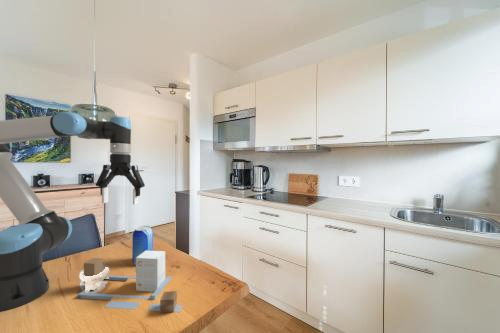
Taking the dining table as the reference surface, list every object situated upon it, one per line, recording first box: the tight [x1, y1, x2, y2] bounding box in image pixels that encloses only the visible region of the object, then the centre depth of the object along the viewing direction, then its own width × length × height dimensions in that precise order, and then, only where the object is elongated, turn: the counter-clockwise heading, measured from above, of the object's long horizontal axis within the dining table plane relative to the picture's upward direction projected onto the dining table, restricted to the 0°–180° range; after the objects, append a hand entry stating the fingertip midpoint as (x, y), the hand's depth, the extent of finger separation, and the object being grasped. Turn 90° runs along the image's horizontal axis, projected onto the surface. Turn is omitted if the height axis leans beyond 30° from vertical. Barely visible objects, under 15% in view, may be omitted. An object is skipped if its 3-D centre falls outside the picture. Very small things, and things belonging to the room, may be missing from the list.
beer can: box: [131, 225, 154, 266], centre depth 96 cm, size 8×8×16 cm
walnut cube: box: [159, 290, 178, 314], centre depth 65 cm, size 4×4×4 cm
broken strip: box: [104, 300, 184, 313], centre depth 66 cm, size 24×3×1 cm, turn 87°
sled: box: [76, 257, 172, 301], centre depth 76 cm, size 29×12×10 cm, turn 87°
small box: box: [135, 250, 166, 293], centre depth 76 cm, size 8×6×13 cm
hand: (120, 203), depth 89 cm, fingers open, 13 cm apart
